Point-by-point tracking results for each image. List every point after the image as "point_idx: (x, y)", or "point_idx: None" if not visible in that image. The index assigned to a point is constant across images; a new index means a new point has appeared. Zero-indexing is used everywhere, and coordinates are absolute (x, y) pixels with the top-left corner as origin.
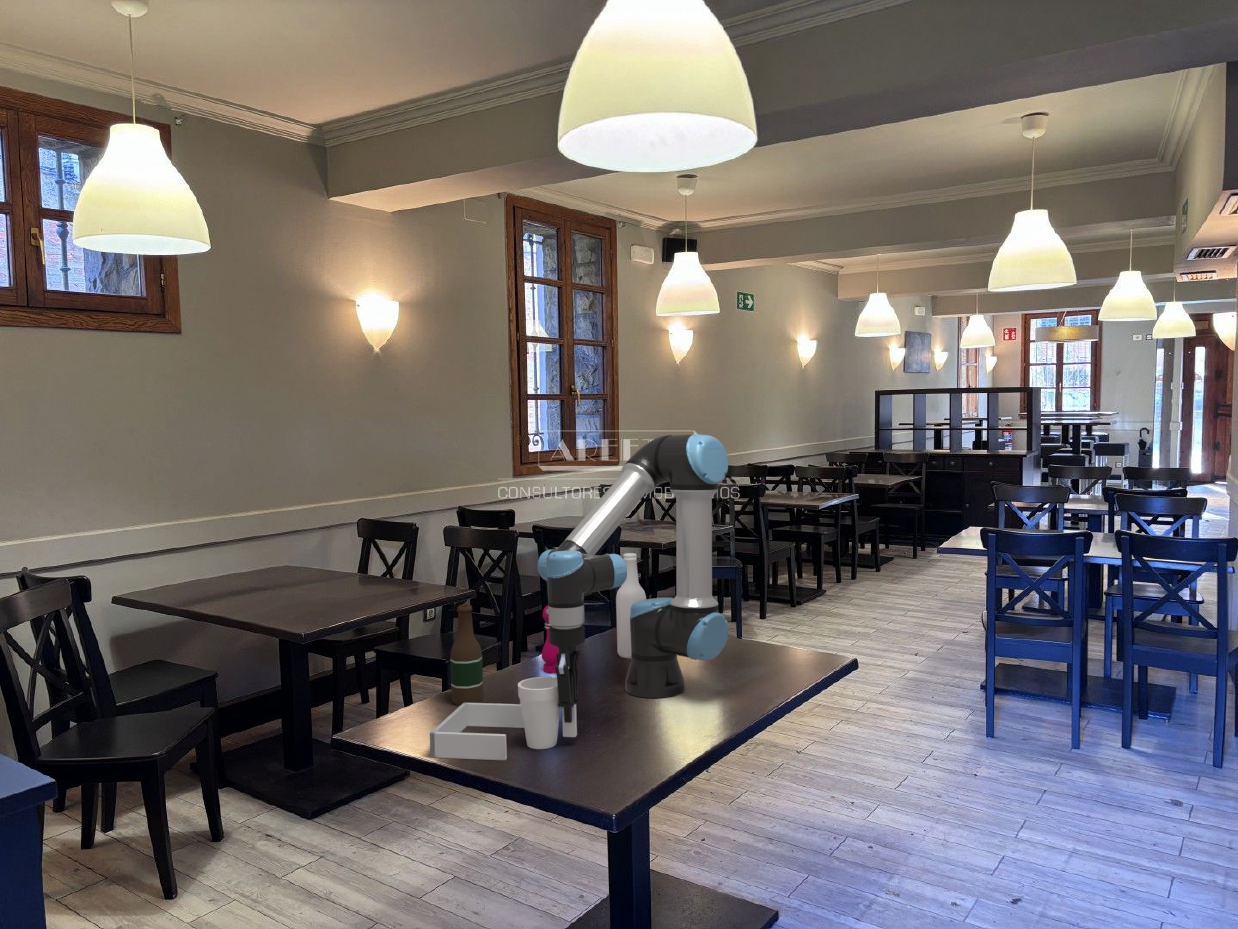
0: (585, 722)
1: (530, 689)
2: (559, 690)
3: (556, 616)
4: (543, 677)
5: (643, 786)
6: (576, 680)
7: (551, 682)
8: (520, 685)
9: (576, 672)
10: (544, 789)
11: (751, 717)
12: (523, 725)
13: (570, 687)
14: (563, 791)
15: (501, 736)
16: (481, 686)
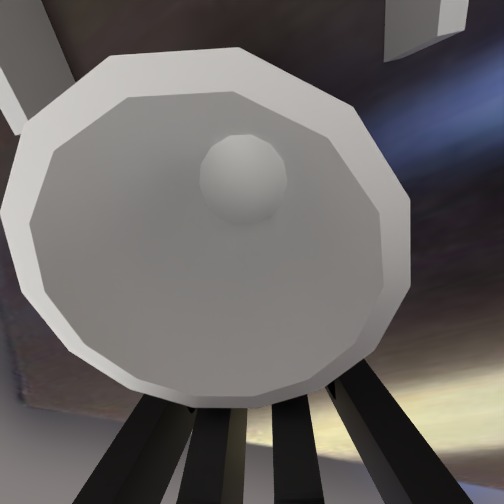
0: (449, 232)
1: (26, 286)
2: (129, 427)
3: None
4: (394, 248)
5: (128, 414)
6: (352, 438)
7: (353, 299)
8: (57, 140)
9: (382, 497)
10: (15, 298)
11: (463, 477)
12: (390, 20)
13: (173, 468)
14: (34, 329)
15: (8, 120)
16: None
